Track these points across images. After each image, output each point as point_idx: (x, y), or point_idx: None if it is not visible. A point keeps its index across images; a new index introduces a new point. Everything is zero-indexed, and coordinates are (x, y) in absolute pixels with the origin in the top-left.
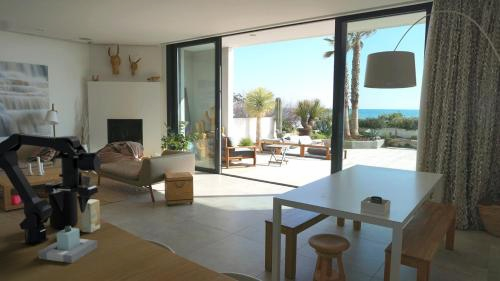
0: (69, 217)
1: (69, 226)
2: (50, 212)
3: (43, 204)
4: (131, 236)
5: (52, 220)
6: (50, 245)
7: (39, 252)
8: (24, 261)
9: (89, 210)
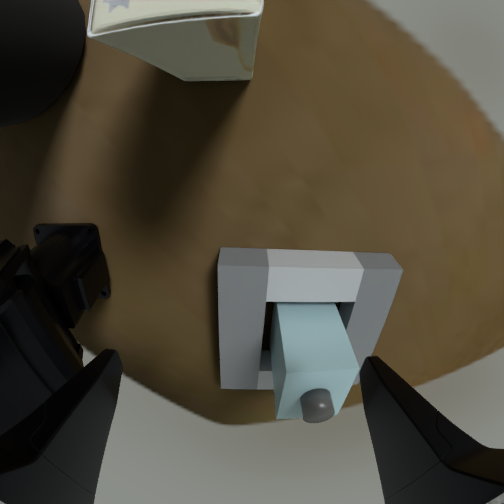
0: (43, 63)
1: (324, 411)
2: (29, 313)
3: (3, 398)
4: (475, 114)
5: None
6: (221, 351)
7: (226, 386)
8: (196, 383)
9: (243, 46)
